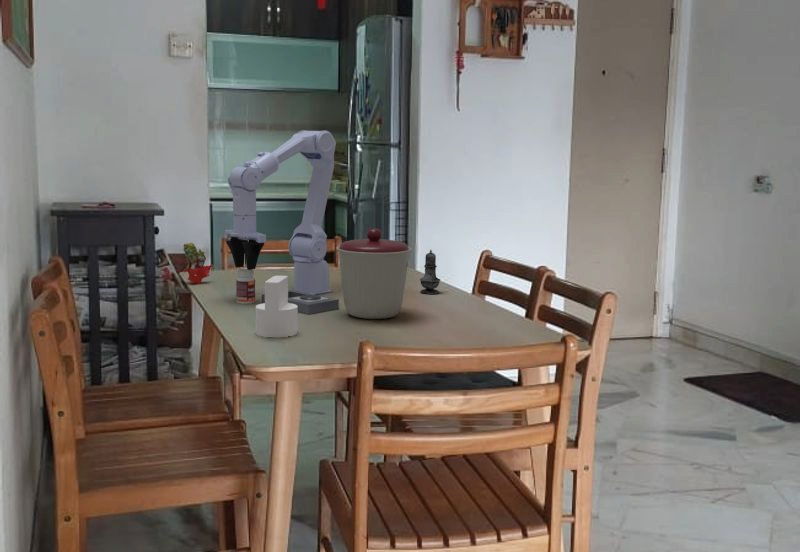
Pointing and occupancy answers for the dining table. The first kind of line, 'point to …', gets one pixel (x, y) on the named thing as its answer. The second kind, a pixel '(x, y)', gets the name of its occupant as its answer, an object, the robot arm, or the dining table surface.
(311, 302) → the socket strip
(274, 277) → the base with upright slab
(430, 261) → the salt shaker
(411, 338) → the dining table surface
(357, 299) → the canister
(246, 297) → the pill bottle
